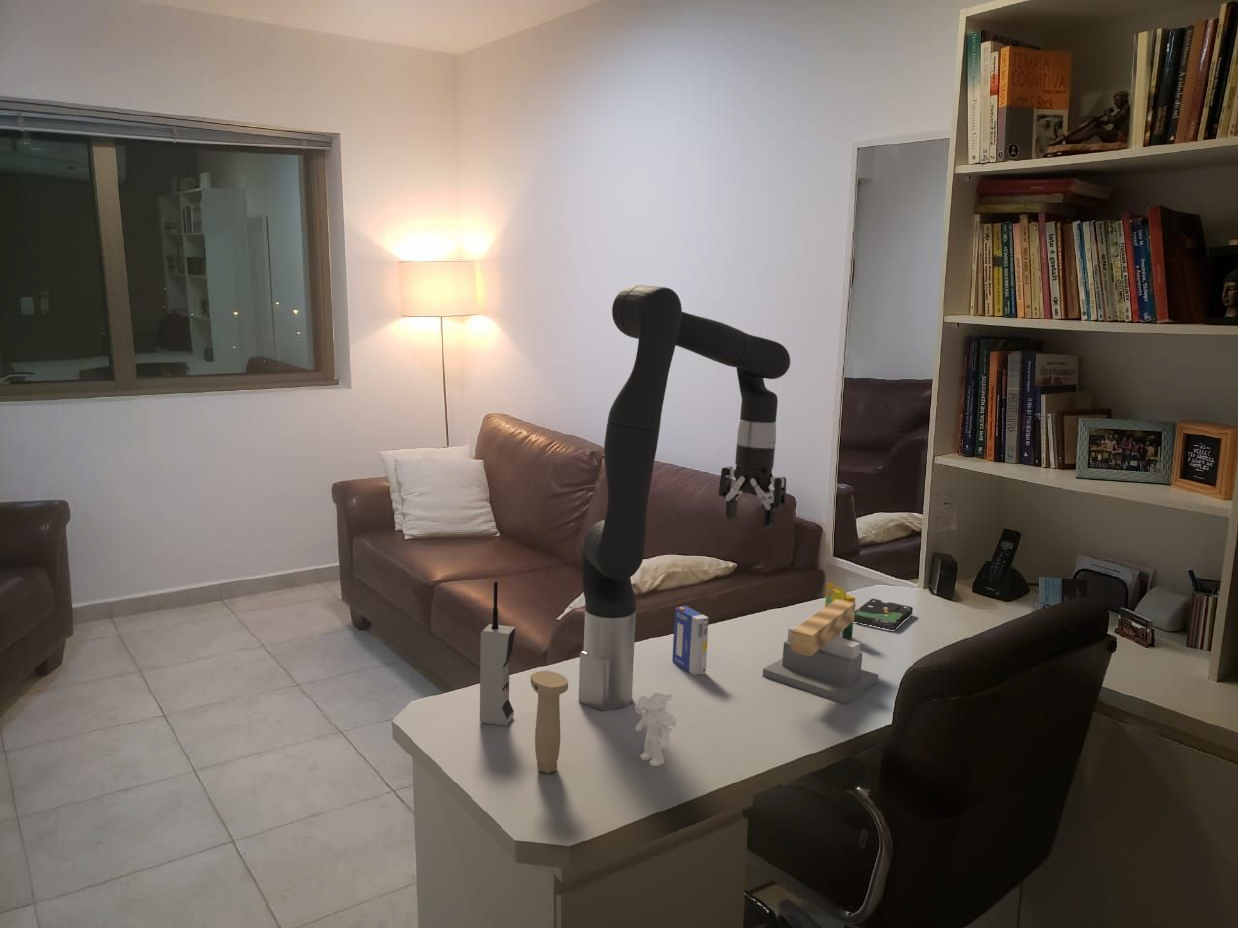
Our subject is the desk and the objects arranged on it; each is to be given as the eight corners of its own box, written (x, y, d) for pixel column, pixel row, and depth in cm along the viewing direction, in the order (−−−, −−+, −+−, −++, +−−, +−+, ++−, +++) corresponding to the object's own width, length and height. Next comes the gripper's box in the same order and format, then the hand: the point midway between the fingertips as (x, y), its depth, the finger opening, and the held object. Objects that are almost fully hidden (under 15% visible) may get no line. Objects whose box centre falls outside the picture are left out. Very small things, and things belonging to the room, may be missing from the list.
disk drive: (870, 608, 229) (850, 624, 217) (871, 597, 229) (851, 612, 216) (912, 617, 224) (894, 634, 211) (913, 606, 223) (895, 622, 211)
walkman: (672, 661, 189) (674, 605, 187) (683, 659, 191) (686, 604, 188) (694, 675, 182) (697, 618, 180) (706, 673, 184) (709, 615, 182)
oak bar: (835, 616, 193) (836, 598, 192) (853, 621, 191) (855, 602, 190) (790, 650, 173) (791, 630, 172) (810, 656, 171) (812, 635, 170)
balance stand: (845, 703, 172) (849, 657, 171) (762, 675, 184) (765, 632, 182) (878, 681, 183) (882, 638, 181) (797, 656, 194) (800, 615, 193)
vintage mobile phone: (507, 726, 158) (509, 586, 154) (479, 723, 159) (481, 583, 155) (514, 717, 162) (516, 580, 157) (486, 713, 163) (488, 577, 158)
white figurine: (678, 768, 146) (682, 697, 144) (658, 774, 144) (662, 702, 142) (646, 744, 154) (649, 676, 151) (626, 750, 151) (629, 681, 149)
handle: (547, 756, 148) (550, 668, 146) (571, 773, 144) (574, 682, 141) (522, 765, 145) (524, 675, 143) (546, 782, 141) (548, 689, 138)
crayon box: (852, 640, 205) (856, 590, 203) (841, 641, 204) (845, 591, 202) (833, 629, 212) (837, 580, 210) (822, 630, 211) (826, 581, 209)
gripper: (715, 439, 184) (709, 518, 187) (776, 450, 175) (769, 533, 178) (736, 437, 190) (730, 514, 193) (797, 447, 181) (789, 527, 183)
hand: (749, 523), depth 185 cm, fingers open, 8 cm apart
